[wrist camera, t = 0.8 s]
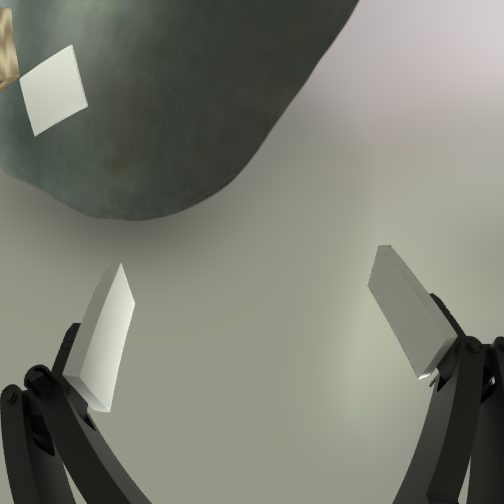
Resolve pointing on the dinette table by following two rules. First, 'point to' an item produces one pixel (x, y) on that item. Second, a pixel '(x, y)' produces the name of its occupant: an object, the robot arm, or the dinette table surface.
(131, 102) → the dinette table surface
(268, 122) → the dinette table surface
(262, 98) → the dinette table surface
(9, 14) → the frame
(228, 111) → the dinette table surface
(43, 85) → the mat
